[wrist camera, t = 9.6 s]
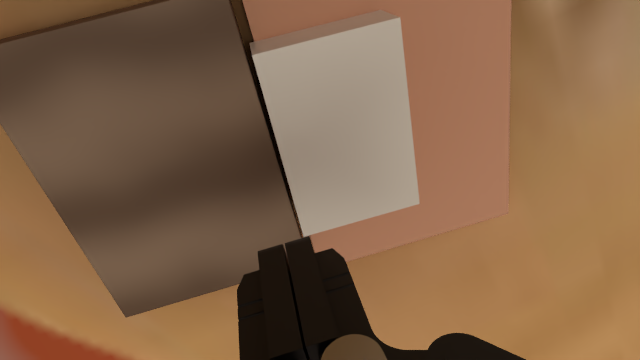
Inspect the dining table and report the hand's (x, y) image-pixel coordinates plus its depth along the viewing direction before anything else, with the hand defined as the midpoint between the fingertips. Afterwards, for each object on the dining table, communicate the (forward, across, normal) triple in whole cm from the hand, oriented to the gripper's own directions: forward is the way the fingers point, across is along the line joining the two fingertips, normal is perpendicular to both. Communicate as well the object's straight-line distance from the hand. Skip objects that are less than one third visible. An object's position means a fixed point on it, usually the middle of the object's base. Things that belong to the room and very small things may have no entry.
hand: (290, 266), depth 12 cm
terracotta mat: (+11, -7, 0) cm, 13 cm away
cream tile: (+10, -4, 0) cm, 11 cm away
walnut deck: (+11, +5, 0) cm, 12 cm away
